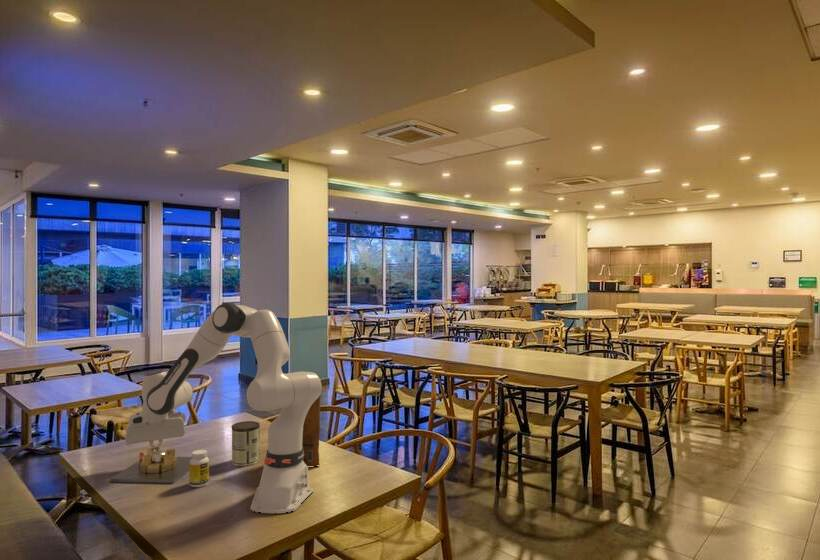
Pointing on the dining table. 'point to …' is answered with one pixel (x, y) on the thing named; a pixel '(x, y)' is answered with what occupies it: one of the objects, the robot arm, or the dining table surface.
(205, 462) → the pill bottle
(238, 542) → the dining table surface
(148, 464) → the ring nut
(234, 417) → the dining table surface
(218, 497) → the dining table surface
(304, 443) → the pancake mix bag
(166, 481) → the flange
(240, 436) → the coffee can
